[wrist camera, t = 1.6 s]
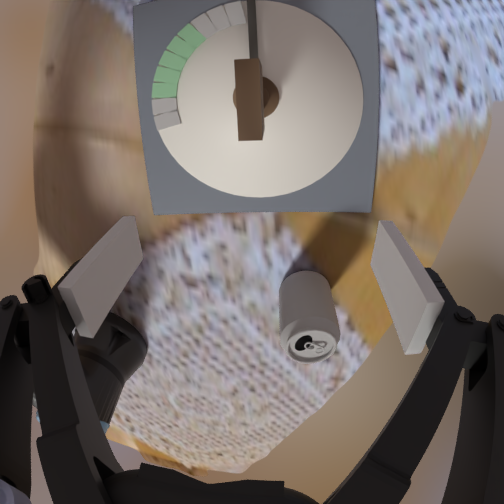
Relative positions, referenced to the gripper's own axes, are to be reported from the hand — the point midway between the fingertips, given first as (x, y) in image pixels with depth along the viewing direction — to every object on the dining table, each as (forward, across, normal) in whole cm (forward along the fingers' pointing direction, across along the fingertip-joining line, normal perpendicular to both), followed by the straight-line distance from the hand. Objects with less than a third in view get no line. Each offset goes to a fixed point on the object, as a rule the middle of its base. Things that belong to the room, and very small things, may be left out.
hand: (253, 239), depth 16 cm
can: (+22, +6, -20) cm, 30 cm away
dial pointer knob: (+20, -1, +12) cm, 23 cm away
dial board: (+22, -1, +7) cm, 23 cm away
